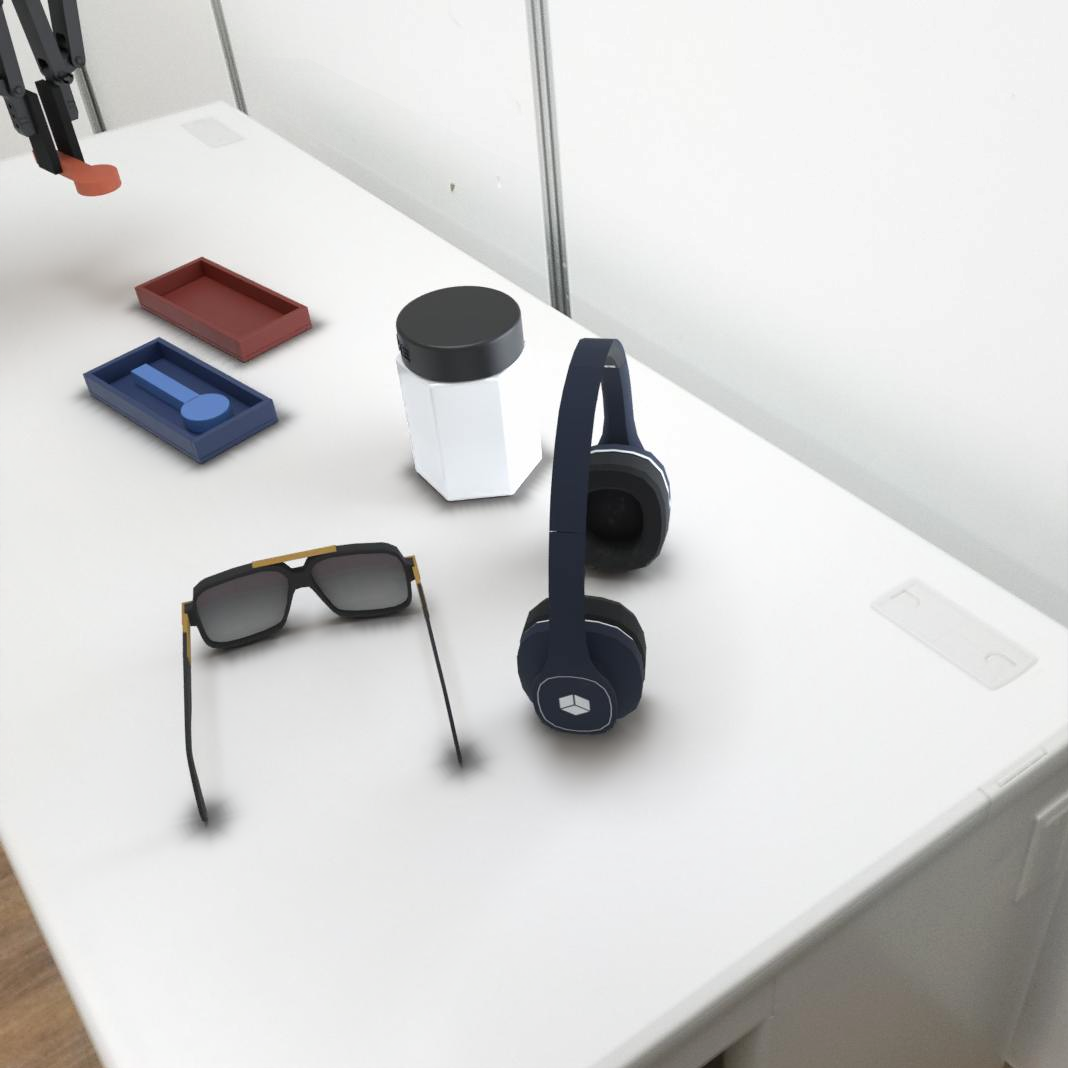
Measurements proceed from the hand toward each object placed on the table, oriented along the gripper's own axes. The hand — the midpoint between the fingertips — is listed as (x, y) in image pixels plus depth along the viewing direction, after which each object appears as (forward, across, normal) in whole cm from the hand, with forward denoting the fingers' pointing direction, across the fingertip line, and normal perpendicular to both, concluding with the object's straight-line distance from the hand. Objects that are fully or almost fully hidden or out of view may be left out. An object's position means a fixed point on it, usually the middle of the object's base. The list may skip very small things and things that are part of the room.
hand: (62, 164), depth 105 cm
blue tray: (+10, -8, -25) cm, 28 cm away
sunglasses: (+10, -21, -57) cm, 62 cm away
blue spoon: (+10, -8, -25) cm, 28 cm away
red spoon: (0, 0, -2) cm, 2 cm away
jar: (+10, +1, -48) cm, 49 cm away
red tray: (+10, +2, -16) cm, 19 cm away
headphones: (+10, -6, -66) cm, 67 cm away
